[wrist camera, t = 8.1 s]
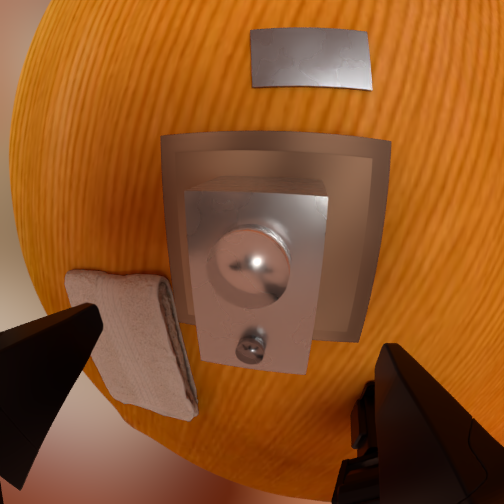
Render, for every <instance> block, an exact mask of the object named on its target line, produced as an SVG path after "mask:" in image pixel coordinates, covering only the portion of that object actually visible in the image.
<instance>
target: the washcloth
mask: <svg viewBox="0 0 504 504" xmlns="http://www.w3.org/2000/svg"><path fill="white" fill-rule="evenodd" d="M65 288H66V290H67V293H68V297H69V300H70V303H71V306H72V307H74V306H77V305H80V304H83V303H86V302H88V303H92V304H95V305H97V307H98V308H99V312H100V315H101V318H102V321H103V326H104V327H103V331H102V333H101V335H100V337H99V339H98V341H97V343H96V345H95V347H94V349H93V351H92V353H91V356H92V358H93V361H94V362H95V365H96V366H97V368H98V370H99V373H100V374H101V377H102V379H103V381H104V383H105V385H106V387H107V389H108V390H109V393H110V394H111V395H112V396H113V397H114V398H115V399H116V400H119V401H121V402H122V403H124V404H133V405H136V406H140V407H143V408H145V409H149V410H152V411H154V412H156V413H159V414H161V415H164V416H169V417H174V418H178V419H182V420H186V421H191V420H192V418H193V417H194V416H197V415H198V413H199V412H198V406H197V404H198V400H197V399H196V398H197V395H196V393H197V392H196V387H195V384H194V380H193V376H192V373H191V369H190V365H189V361H188V357H187V353H186V349H185V346H184V342H183V338H182V334H181V330H180V327H179V322H178V319H177V313H176V307H175V302H174V297H173V292H172V289H171V286H170V283H169V281H168V280H167V278H165V277H163V276H159V275H151V274H132V275H127V274H126V276H121V275H114V274H107V273H106V272H104V271H103V272H101V271H94V270H93V271H90V270H87V271H86V270H84V269H83V270H70V271H68V272H67V273H66V276H65Z"/></svg>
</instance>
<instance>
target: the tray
mask: <svg viewBox="0 0 504 504" xmlns="http://www.w3.org/2000/svg"><path fill="white" fill-rule="evenodd" d="M390 156H391V141H386V140H379V139H372V138H364V137H356V136H347V135H337V134H325V133H310V132H290V131H221V132H201V133H186V134H174V135H164V136H161V163H162V184H163V199H164V213H165V224H166V235H167V245H168V254H169V263H170V271H171V278H172V286H173V293H174V300H175V306H176V313H177V319H178V322H180V323H186V324H192V325H196V320H195V312H194V303H193V295H192V286H191V276H190V266H189V255H188V243H187V230H186V215H185V198H184V191H185V190H188V189H190V188H192V187H195V186H197V185H200V184H202V183H205V182H207V181H210V180H212V179H215V178H217V177H220V176H258V177H283V178H301V179H316V180H322V181H323V184H324V186H325V189H326V192H327V195H328V208H327V220H326V232H325V243H324V252H323V262H322V270H321V279H320V287H319V294H318V302H317V309H316V316H315V322H314V329H313V335H312V340H322V341H337V342H357V343H359V339H360V336H361V332H362V328H363V324H364V321H365V317H366V313H367V309H368V305H369V300H370V296H371V291H372V287H373V282H374V277H375V272H376V267H377V262H378V257H379V251H380V245H381V239H382V232H383V226H384V218H385V211H386V202H387V193H388V183H389V171H390Z"/></svg>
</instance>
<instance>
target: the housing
mask: <svg viewBox="0 0 504 504" xmlns="http://www.w3.org/2000/svg"><path fill="white" fill-rule="evenodd" d="M184 198H185V215H186V230H187V243H188V255H189V266H190V276H191V286H192V295H193V303H194V312H195V320H196V328H197V335H198V342H199V349H200V356H201V360H202V361H207V362H213V363H218V364H224V365H230V366H236V367H243V368H250V369H257V370H264V371H273V372H281V373H291V374H302V375H306V370H307V364H308V359H309V353H310V347H311V341H312V335H313V329H314V322H315V316H316V309H317V302H318V294H319V287H320V279H321V270H322V262H323V252H324V243H325V232H326V220H327V208H328V195H327V192H326V189H325V186H324V184H323V181H322V180H316V179H301V178H283V177H258V176H220V177H217V178H215V179H212V180H210V181H207V182H205V183H202V184H200V185H197V186H195V187H192V188H190V189H188V190H185V191H184Z"/></svg>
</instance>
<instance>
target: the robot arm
mask: <svg viewBox="0 0 504 504" xmlns="http://www.w3.org/2000/svg"><path fill="white" fill-rule="evenodd" d="M103 327H104V326H103V321H102V318H101V315H100V312H99V308H98V307H97V305H95V304H92V303H88V302H86V303H83V304H80V305H77V306H74V307H71V308H69V309H66V310H63V311H60V312H57V313H54V314H51V315H48V316H46V317H43V318H40V319H37V320H34V321H31V322H28V323H25V324H23V325H20V326H17V327H14V328H11V329H8V330H6V331H3V332H0V476H1V477H2V478H3V479H5V480H6V481H7V482H9V483H10V484H12V485H13V486H14V487H16V488H17V489H18V490H21V489H22V487H23V485H24V483H25V480H26V478H27V476H28V473H29V471H30V469H31V467H32V464H33V462H34V460H35V458H36V456H37V454H38V452H39V449H40V447H41V445H42V443H43V441H44V438H45V437H46V435H47V433H48V431H49V429H50V427H51V425H52V423H53V421H54V419H55V417H56V416H57V414H58V412H59V410H60V408H61V406H62V405H63V403H64V401H65V399H66V397H67V396H68V394H69V392H70V390H71V388H72V387H73V385H74V383H75V382H76V380H77V378H78V377H79V375H80V373H81V371H82V370H83V368H84V367H85V365H86V363H87V361H88V359H89V357H90V355H91V353H92V351H93V349H94V347H95V345H96V343H97V341H98V339H99V337H100V335H101V333H102V331H103ZM351 447H352V448H353V449H357V458H353V459H346V460H343V461H342V464H341V468H340V470H339V474H338V478H337V482H336V486H335V490H334V493H333V497H332V501H331V502H332V504H504V447H503V446H502V445H501V444H500V443H499V442H497V441H496V440H495V439H494V438H493V437H492V436H491V435H490V434H489V433H488V432H487V431H486V430H485V429H484V428H483V427H482V426H481V425H480V424H479V423H478V422H477V421H476V420H475V419H474V418H473V419H472V416H471V415H470V414H469V413H468V412H467V411H466V410H465V409H464V408H463V407H462V406H461V405H460V403H459V402H458V401H457V400H456V399H455V398H454V397H453V396H452V395H451V394H450V393H449V392H448V391H447V390H446V389H445V388H444V387H443V386H442V385H441V384H440V383H438V382H437V381H436V380H435V379H434V378H433V377H432V376H431V375H430V374H429V373H428V372H427V371H426V370H425V369H424V368H423V367H422V366H421V365H420V364H419V363H418V362H417V361H416V360H415V359H414V358H413V357H412V356H411V355H410V354H409V353H408V352H407V351H405V350H404V349H403V348H402V347H401V346H400V345H399V344H397V343H385V344H384V345H383V346H382V349H381V351H380V354H379V357H378V360H377V362H376V365H375V382H369V383H367V384H366V386H365V389H364V391H363V393H362V396H361V398H360V399H359V400H357V402H356V404H355V406H354V409H353V411H352V413H351ZM0 504H4V503H3V497H2V491H1V483H0Z"/></svg>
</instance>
